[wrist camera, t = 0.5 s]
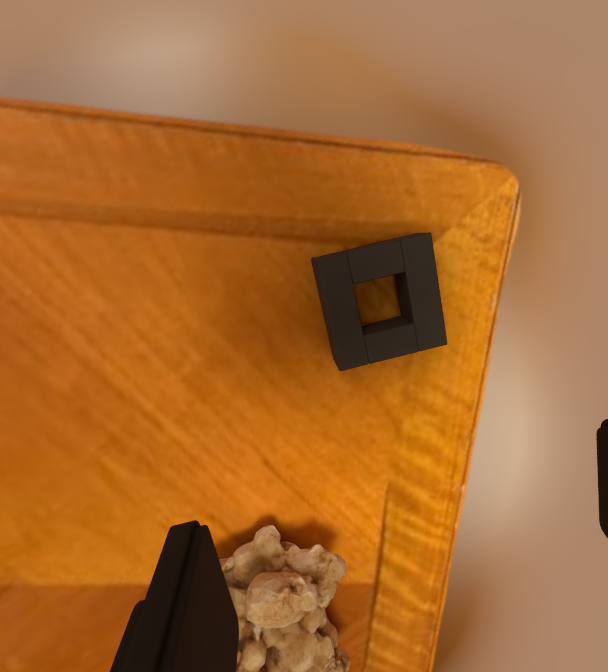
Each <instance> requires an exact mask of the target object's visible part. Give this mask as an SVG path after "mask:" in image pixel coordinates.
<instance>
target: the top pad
mask: <svg viewBox="0 0 608 672" xmlns="http://www.w3.org/2000/svg"><path fill="white" fill-rule="evenodd" d="M311 261H312V266H313V270H314V274H315V279H316V283H317V288H318V292H319V297H320V301H321V306H322V310H323V315H324V319H325V324H326V328H327V333H328V337H329V341H330V346H331V350H332V355H333V359H334V361H335V363H336V365H337V367H338V369H339V370H340V371H343V370H347V369H351V368H355V367H359V366H363V365H367V364H368V363H369V364H371V363H375V362H379V361H383V360H387V359H391V358H395V357H399V356H403V355H407V354H411V353H415V352H418V351H423V350H427V349H431V348H435V347H439V346H443V345H447V338H446V331H445V325H444V318H443V311H442V304H441V297H440V290H439V283H438V276H437V270H436V263H435V256H434V249H433V242H432V235H431V233H430V232H429V233H415V234H411V235H406V236H402V237H398V238H394V239H390V240H386V241H382V242H378V243H373V244H369V245H365V246H361V247H357V248H353V249H349V250H345V251H341V252H336V253H332V254H328V255H324V256H320V257H316V258H312V259H311ZM390 275H395V281H396V287H397V292H398V298H399V304H400V310H401V316H402V317H401V316H400V317H396V318H392V319H388V320H384V321H380V322H376V323H372V324H368V325H364V326H361V322H360V317H359V312H358V307H357V302H356V297H355V292H354V287H353V284H357V283H361V282H365V281H369V280H373V279H378V278H382V277H386V276H390Z"/></svg>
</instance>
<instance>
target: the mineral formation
mask: <svg viewBox="0 0 608 672" xmlns="http://www.w3.org/2000/svg"><path fill="white" fill-rule="evenodd" d="M280 539H281V537H280V534H279V532H278V531H277V529H276V528H275V527H274V525H265V526H264V527H263V528H261V529H260V530H259V531H257V532H256V535H255V537H254V539H253V541H251V542H250V543H247V544H244V545H242V546H241V547H239V548H238V549H237V550H236V551H235V552H234V554H233V555H232V556H231V557H230V558H223V559H220V560H219V561H220V564H221V567H222V570H223V573H224V576H225V579H226V582H227V585H228V588H229V592H230V595H231V598H232V601H233V604H234V607H235V610H236V613H237V616H238V622H239V642H238V655H237V668H236V672H347V671H348V669H349V664H350V658H349V656H348V654H347V653H346V651H345V649H341V647H337V643H338V635H337V631H336V628H335V627H334V626H333V625H332V624H331V623H330V622H329V620H328V618H327V616H326V611H325V608H326V607H327V606H328V604H329V603H330V600H331V599H332V598H333V597H334V594H335V591H336V588H337V585H338V580H340V579H341V578H343V577H344V575H345V573H346V571H347V569H346V563H345V561H344V560H343V559H342V558H341V556H339V555H337V554H334V553H331V552H330V551H328V550H326V549H324V548H323V547H322V546H321V545H320V544H317V545H313V546H312V547H311V548H309V549H299V548H298V547H297V546H296V545H295V544H293V543H290V542H280Z"/></svg>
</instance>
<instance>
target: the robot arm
mask: <svg viewBox="0 0 608 672" xmlns="http://www.w3.org/2000/svg"><path fill="white" fill-rule="evenodd" d="M597 463H598V491H599V521H600V526H601V529H602V531H603V532H604V534H605V535H606V537H607V538H608V419H606V420H604V421H603V422H602V424H601V428H599V429H598V430H597ZM238 642H239V622H238V616H237V613H236V610H235V607H234V604H233V601H232V598H231V595H230V592H229V588H228V585H227V582H226V579H225V576H224V573H223V570H222V567H221V564H220V561H219V558H218V555H217V552H216V549H215V546H214V543H213V540H212V537H211V534H210V531H209V528H208V526H207V525H203V526H200V524H199V522H198V521H196V520H195V521H191V522H187V523H183V524H179V525H175V526H172V527H171V528H170V530H169V532H168V535H167V538H166V541H165V543H164V546H163V549H162V552H161V555H160V558H159V561H158V564H157V566H156V569H155V572H154V575H153V578H152V581H151V584H150V587H149V590H148V592H147V595H146V598H145V600H141V601H139V602H138V603H137V604H136V605H135V607H134V609H133V611H132V613H131V616H130V619H129V621H128V624H127V627H126V630H125V632H124V635H123V638H122V640H121V643H120V646H119V648H118V651H117V654H116V656H115V659H114V662H113V665H112V667H111V670H110V672H236V668H237V655H238Z"/></svg>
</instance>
